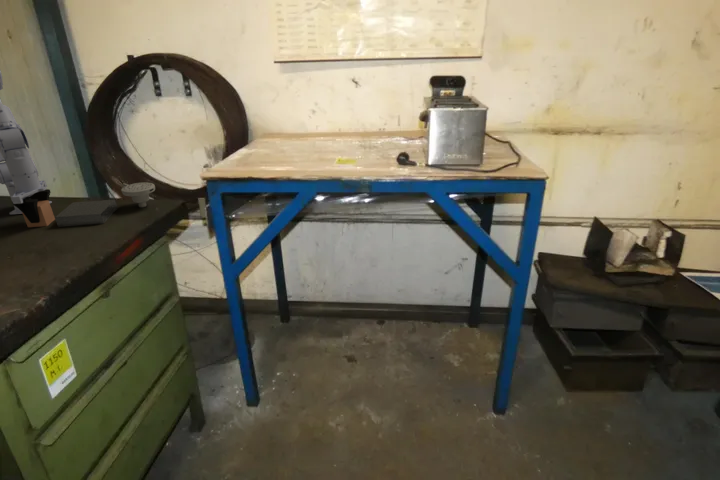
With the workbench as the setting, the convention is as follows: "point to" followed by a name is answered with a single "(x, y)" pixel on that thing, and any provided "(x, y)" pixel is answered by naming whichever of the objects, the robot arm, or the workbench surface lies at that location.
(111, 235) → the workbench surface
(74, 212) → the steel base
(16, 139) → the robot arm
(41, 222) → the terracotta block
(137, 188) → the showerhead
